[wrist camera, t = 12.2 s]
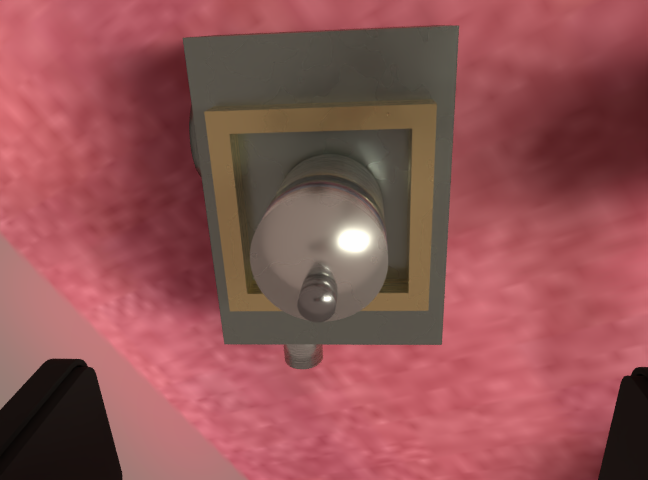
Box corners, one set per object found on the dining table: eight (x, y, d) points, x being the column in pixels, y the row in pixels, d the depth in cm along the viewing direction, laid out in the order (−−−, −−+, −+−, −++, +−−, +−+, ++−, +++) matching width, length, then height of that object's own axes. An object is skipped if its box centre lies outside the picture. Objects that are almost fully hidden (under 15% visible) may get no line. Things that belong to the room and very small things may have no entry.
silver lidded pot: (273, 154, 25) (235, 205, 17) (384, 153, 24) (391, 205, 17) (280, 255, 27) (248, 337, 19) (382, 255, 26) (388, 340, 19)
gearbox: (206, 35, 28) (157, 39, 21) (439, 25, 27) (465, 25, 20) (242, 331, 36) (213, 405, 29) (426, 331, 35) (443, 407, 28)
